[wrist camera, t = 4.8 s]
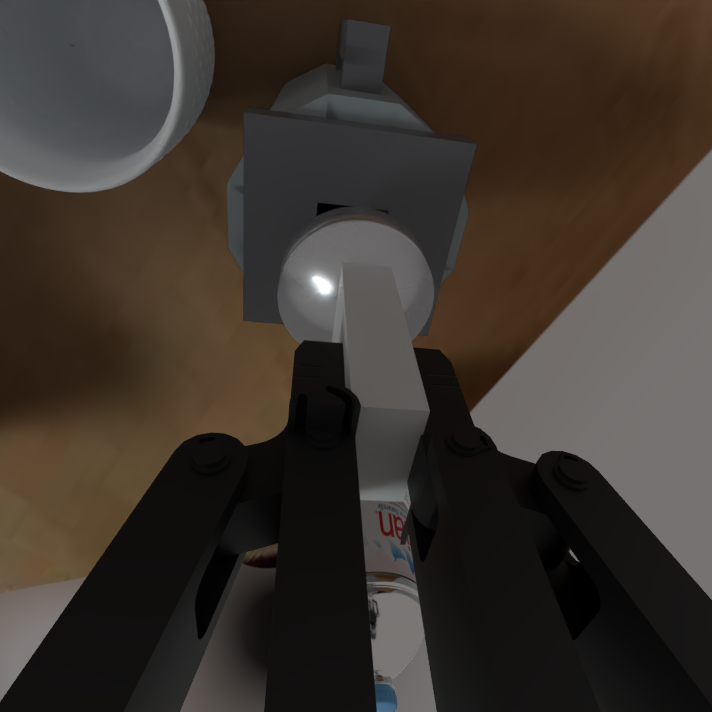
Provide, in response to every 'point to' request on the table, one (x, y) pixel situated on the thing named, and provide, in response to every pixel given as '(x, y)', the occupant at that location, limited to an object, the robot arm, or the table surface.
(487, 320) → the table surface
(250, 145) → the carafe
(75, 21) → the mug
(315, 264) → the plunger
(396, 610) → the water bottle
